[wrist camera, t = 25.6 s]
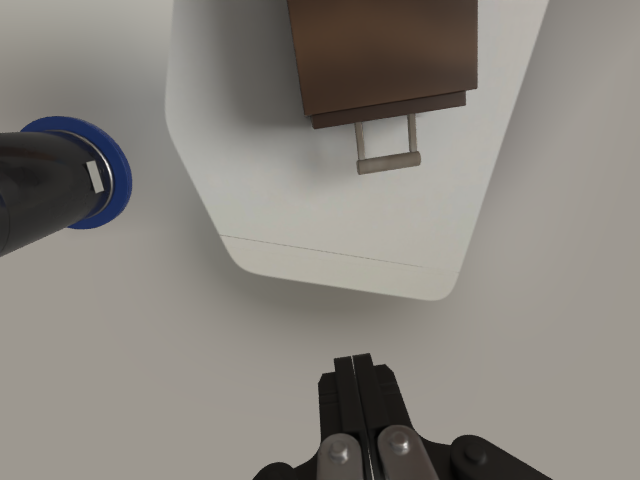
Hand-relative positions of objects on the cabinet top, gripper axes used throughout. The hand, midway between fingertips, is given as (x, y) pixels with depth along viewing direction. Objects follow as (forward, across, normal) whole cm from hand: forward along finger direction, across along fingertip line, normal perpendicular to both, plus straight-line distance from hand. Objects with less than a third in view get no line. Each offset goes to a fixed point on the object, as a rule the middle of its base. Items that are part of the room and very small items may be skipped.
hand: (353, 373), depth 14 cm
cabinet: (+27, -7, -18) cm, 33 cm away
